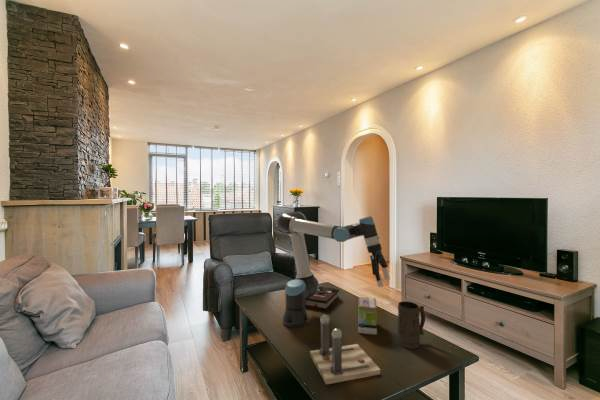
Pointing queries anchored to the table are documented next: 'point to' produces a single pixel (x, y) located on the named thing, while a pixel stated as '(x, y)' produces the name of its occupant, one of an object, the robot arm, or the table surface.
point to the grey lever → (324, 335)
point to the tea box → (367, 316)
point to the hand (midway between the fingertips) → (384, 282)
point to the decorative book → (322, 299)
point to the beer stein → (410, 324)
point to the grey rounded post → (336, 351)
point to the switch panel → (345, 364)
